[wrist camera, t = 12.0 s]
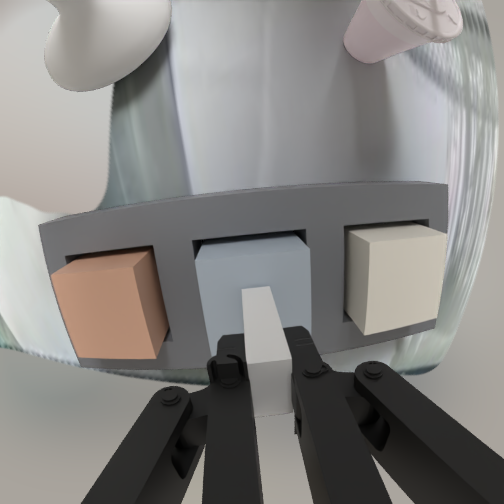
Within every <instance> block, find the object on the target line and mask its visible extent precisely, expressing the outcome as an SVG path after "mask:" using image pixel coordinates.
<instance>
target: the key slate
mask: <svg viewBox="0 0 504 504" xmlns="http://www.w3.org/2000/svg"><path fill="white" fill-rule="evenodd" d="M195 265H196V272H197V278H198V284H199V290H200V296H201V302H202V308H203V314H204V319H205V325H206V330H207V335H208V341H209V346H210V351H211V356H215V355H216V354H217V343H218V340H219V339H220V338H221V337H222V335H230V334H240V333H244V321H243V305H242V289H247V288H257V287H266V286H270V289H271V292H272V295H273V299H274V302H275V305H276V308H277V312H278V315H279V318H280V321H281V325H282V328H286V327H294V326H303V327H304V328H306V329H307V330H308V331H309V333H310V335H311V266H310V249H309V248H308V247H307V245H306V244H305V243H304V242H303V241H302V240H301V239H300V238H299V237H298V236H297V235H296V234H295V233H294V232H293V231H284V232H274V233H264V234H254V235H244V236H234V237H225V238H215V239H206V240H204V242H203V244H202V246H201V248H200V251H199V253H198V255H197V257H196V259H195Z"/></svg>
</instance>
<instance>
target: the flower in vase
mask: <svg viewBox="0 0 504 504" xmlns="http://www.w3.org/2000/svg"><path fill="white" fill-rule="evenodd" d="M47 1H48V2H50V3H51V4H52V5H54V7H55V8H57V10H58V11H59V15H58V17H57V18H56V19H55V21H54V23H53V25H52V27H51V29H50V31H49V35H48V38H47V41H46V45H45V51H44V59H45V65H46V68H47V70H48V72H49V74H50V76H51V78H52V79H53V81H54V82H55V83H56V84H58V85H59V86H60V87H62V88H64V89H67V90H70V91H77V92H83V91H91V90H96V89H99V88H102V87H105V86H108V85H110V84H112V83H114V82H116V81H118V80H120V79H122V78H123V77H125V76H126V75H128V74H130V73H131V72H132V71H134V70H135V69H136V68H137V67H139V66H140V65H141V64H142V63H143V62H144V61H145V60H146V59H147V58H148V57H149V56H150V55H151V54H152V53H153V52H154V50H155V49H156V48H157V47H158V45H159V44H160V42H161V41H162V39H163V38H164V36H165V34H166V32H167V30H168V27H169V24H170V20H171V16H172V6H171V1H170V0H47Z"/></svg>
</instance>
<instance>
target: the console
mask: <svg viewBox="0 0 504 504" xmlns="http://www.w3.org/2000/svg"><path fill="white" fill-rule="evenodd" d="M392 221H410V222H413V223H416V224H419V225H422V226H425V227H428V228H431V229H434V230H437V231H440V232H443V233H445V234H447V227H448V184H440V183H431V182H421V181H384V182H348V183H325V184H308V185H293V186H279V187H267V188H255V189H245V190H235V191H225V192H216V193H207V194H199V195H191V196H183V197H176V198H168V199H161V200H155V201H148V202H141V203H135V204H129V205H123V206H117V207H111V208H106V209H100V210H95V211H89V212H84V213H79V214H74V215H69V216H65V217H61V218H58V219H55V220H52V221H49V222H46V223H43V224H40V225H38V226H39V232H40V237H41V242H42V247H43V252H44V256H45V260H46V265H47V269H48V273H49V276H50V280H51V284H52V287H53V291H54V294H55V298H56V301H57V304H58V307H59V310H60V313H61V316H62V319H63V322H64V325H65V328H66V330H67V327H66V324H65V321H64V318H63V315H62V312H61V309H60V306H59V303H58V300H57V296H56V293H55V290H54V286H53V283H52V279H51V275H52V274H53V273H55V272H56V271H58V270H59V269H61V268H63V267H64V266H66V265H67V264H69V263H71V262H72V261H74V260H75V259H77V258H79V257H80V256H82V255H84V254H87V253H91V252H98V251H106V250H114V249H122V248H130V247H138V246H147V245H153V247H154V253H155V259H156V264H157V269H158V275H159V280H160V285H161V290H162V294H163V299H164V304H165V308H166V312H167V317H168V321H169V328H168V330H167V333H166V335H165V338H164V340H163V343H162V346H161V348H160V351H159V353H158V356H157V359H103V358H81V357H78V355H77V353H76V350H75V348H74V345H73V343H72V340H71V338H70V335H69V332H68V330H67V333H68V336H69V338H70V341H71V344H72V346H73V349H74V351H75V354H76V356H77V358H78V361H79V363H80V365H81V367H86V368H103V369H136V370H161V369H194V368H207V366H206V365H207V362H208V360H209V359H211V358H212V357H213V356H211V351H210V346H209V341H208V335H207V330H206V325H205V319H204V314H203V308H202V302H201V296H200V290H199V284H198V278H197V272H196V265H195V259H196V257H197V255H198V253H199V251H200V248H201V246H202V243H201V239H209V238H218V237H228V236H237V235H247V234H257V233H267V232H277V231H288V230H294V233H295V234H296V235H297V236H298V237H299V238H300V239H301V240H302V241H303V242H304V243H305V244H306V245H307V247H308V248H309V249H310V266H311V338H312V339H313V341H314V344H315V346H316V348H317V350H318V352H319V355H322V354H328V353H334V352H339V351H344V350H349V349H354V348H359V347H364V346H368V345H373V344H377V343H381V342H386V341H390V340H394V339H398V338H402V337H405V336H409V335H413V334H416V333H420V332H424V331H427V330H430V329H434V328H435V323H436V318H435V319H431V320H427V321H424V322H420V323H416V324H412V325H408V326H404V327H400V328H396V329H392V330H388V331H383V332H379V333H374V334H370V335H365V336H364V335H363V333H362V332H361V331H360V329H359V328H358V327H357V325H356V324H355V323H354V321H353V320H352V319H351V317H350V316H349V315H348V313H347V312H346V311H345V310H344V308H343V300H344V225H355V224H367V223H380V222H392Z"/></svg>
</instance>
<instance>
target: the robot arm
mask: <svg viewBox="0 0 504 504" xmlns="http://www.w3.org/2000/svg"><path fill="white" fill-rule="evenodd" d="M242 305H243V321H244V333H240V334H230V335H222V337H221V338H220V339H219V340H218V343H217V354H216V355H215V356H213V357H212V358H211V359H209V360H208V362H207V365H206V366H207V370H208V375H209V379H210V385H209V386H208V387H206V388H205V389H203V390H200V391H197V392H193V393H188V391H187V390H185V389H184V388H181V387H178V386H170V387H166V388H163V389H161V390H159V391H157V392H156V393H155V394H154V395H153V397H152V398H151V400H150V401H149V403H148V404H147V406H146V407H145V409H144V410H143V412H142V413H141V414H140V416H139V417H138V419H137V420H136V422H135V423H134V425H133V426H132V428H131V430H130V431H129V432H128V434H127V435H126V437H125V438H124V440H123V441H122V443H121V445H120V446H119V447H118V449H117V450H116V452H115V453H114V455H113V456H112V458H111V459H110V461H109V462H108V464H107V465H106V467H105V468H104V470H103V471H102V473H101V474H100V476H99V477H98V479H97V480H96V482H95V483H94V485H93V486H92V488H91V489H90V491H89V492H88V494H87V495H86V497H85V498H84V500H83V501H82V503H81V504H181V502H182V500H183V498H184V495H185V493H186V491H187V488H188V486H189V483H190V481H191V479H192V476H193V474H194V471H195V469H196V467H197V464H198V462H199V459H200V457H201V454H202V452H203V449H204V447H205V461H204V477H203V494H202V504H264V503H263V493H262V484H261V475H260V465H259V455H258V445H257V435H256V426H255V419H254V417H264V416H272V415H280V414H287V413H292V412H293V409H294V413H295V434H297V435H298V439H299V443H300V448H301V452H302V456H303V460H304V465H305V469H306V473H307V478H308V482H309V486H310V490H311V494H312V499H313V503H314V504H392V502H391V499H390V497H389V495H388V492H387V490H386V488H385V485H384V483H383V481H382V478H381V476H380V474H379V472H378V469H377V467H376V465H375V462H374V460H373V458H372V456H373V457H374V458H375V459H376V460H377V461H378V463H379V464H380V465H381V466H382V467H383V468H384V469H385V471H386V472H387V473H388V474H389V475H390V476H391V478H392V479H393V480H394V481H395V482H396V483H397V484H398V486H399V487H400V488H401V489H402V490H403V491H404V492H405V493H406V494H407V496H408V497H409V498H410V499H411V500H412V501H413V502H414V503H415V504H504V459H503V458H502V457H501V456H499V455H498V454H497V453H495V452H494V451H493V450H492V449H490V448H489V447H488V446H487V445H486V444H484V443H483V442H482V441H481V440H479V439H478V438H477V437H476V436H474V435H473V434H472V433H471V432H469V431H468V430H467V429H466V428H464V427H463V426H462V425H461V424H459V423H458V422H457V421H456V420H455V419H453V418H452V417H451V416H450V415H448V414H447V413H446V412H444V411H443V410H442V409H441V408H440V407H438V406H437V405H436V404H435V403H433V402H432V401H431V400H430V399H428V398H427V397H426V396H425V395H423V394H422V393H421V392H420V391H419V390H417V389H416V388H415V387H414V386H412V385H411V384H410V383H409V382H407V381H406V380H405V379H404V378H403V377H401V376H400V375H399V374H398V373H396V372H395V371H394V370H393V369H391V368H390V367H389V366H388V365H386V364H384V363H382V362H378V361H368V362H364V363H362V364H360V365H358V366H357V368H356V369H355V373H353V372H337V371H333V370H332V368H331V367H330V366H329V365H328V364H326V363H324V362H323V361H322V359H321V357H320V355H319V352H318V350H317V348H316V346H315V344H314V341H313V339H312V338H311V335H310V333H309V331H308V330H307V329H306V328H304V327H303V326H294V327H286V328H282V325H281V321H280V318H279V315H278V312H277V308H276V305H275V302H274V299H273V295H272V292H271V289H270V286H266V287H257V288H247V289H242ZM205 444H206V446H205ZM371 454H372V456H371Z"/></svg>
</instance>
